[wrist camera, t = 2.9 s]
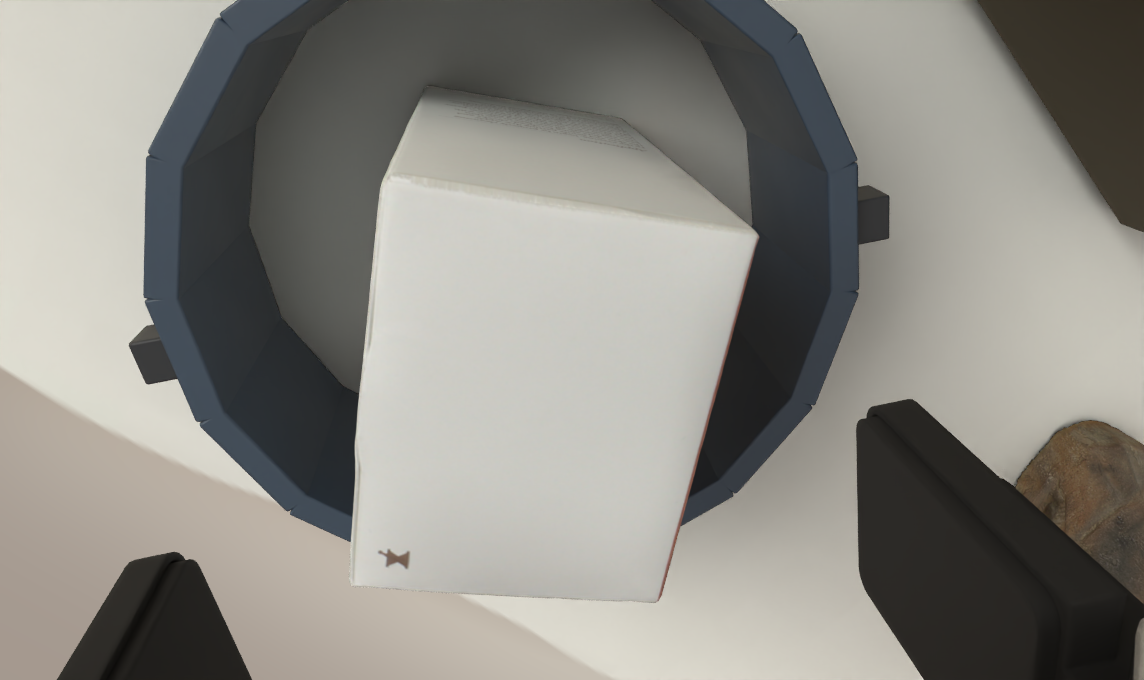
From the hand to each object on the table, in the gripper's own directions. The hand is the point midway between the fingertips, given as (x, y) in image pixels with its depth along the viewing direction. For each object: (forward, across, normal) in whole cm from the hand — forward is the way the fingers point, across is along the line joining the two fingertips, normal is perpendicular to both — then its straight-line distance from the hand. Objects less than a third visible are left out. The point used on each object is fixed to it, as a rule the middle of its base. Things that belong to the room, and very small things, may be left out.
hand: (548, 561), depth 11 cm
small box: (+16, 0, 0) cm, 16 cm away
